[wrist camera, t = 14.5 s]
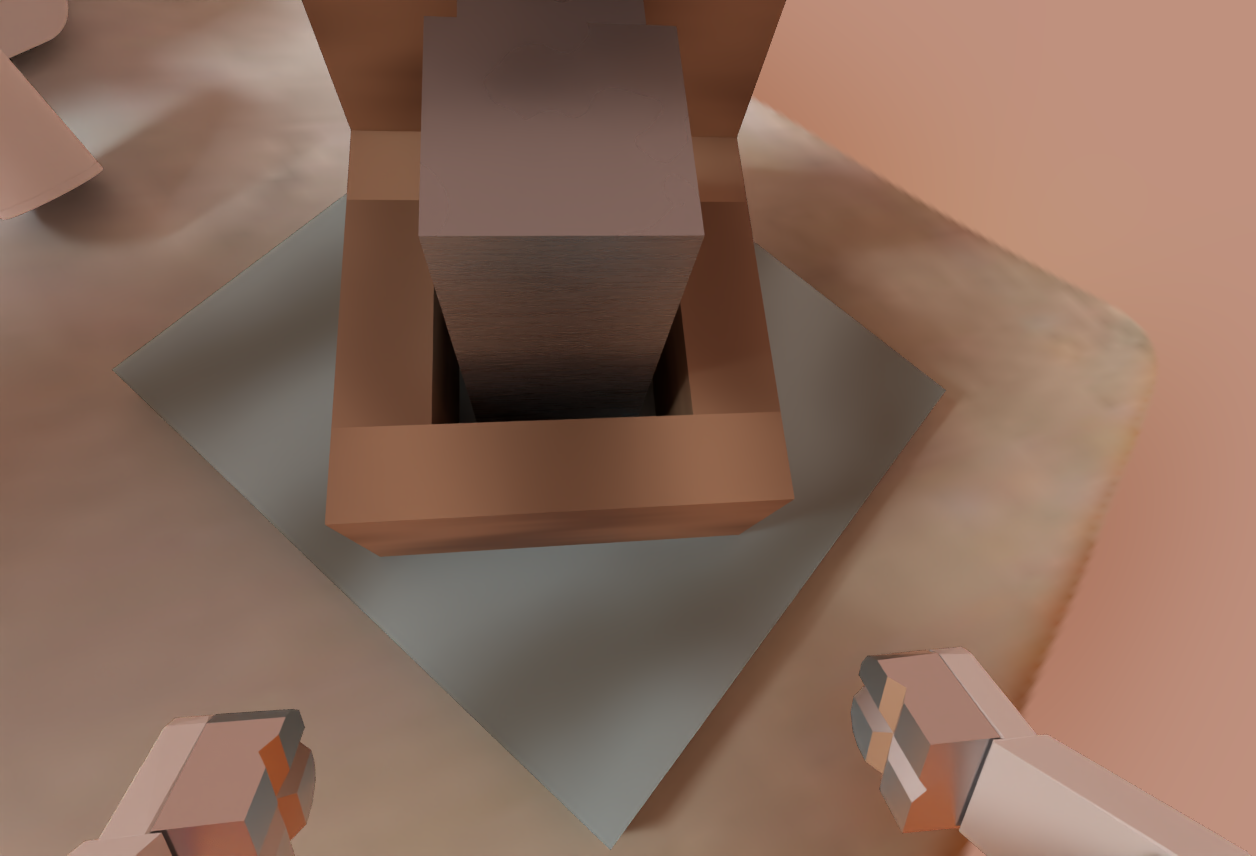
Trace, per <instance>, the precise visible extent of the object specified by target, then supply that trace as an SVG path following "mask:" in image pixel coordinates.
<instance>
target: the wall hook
mask: <svg viewBox="0 0 1256 856" xmlns="http://www.w3.org/2000/svg"><path fill="white" fill-rule="evenodd" d="M67 18H68V1H67V0H0V218H1V219H2V220H6V219H10V218H13V217H16V216H19V215H21V214H24V213H26V212H28V211H30V210H33V209H35V208H37V207H39V206H41V205H43V204H45V203H48V202H50V201H52V200H54V199H56V198H58V197H59V196H61V195H63V194H65V193H67V192H69V191H71V190H73V189H74V188H76V187H78V186H80V185H81V184H83V183H85V182H87V181H88V180H90V179H91V178H93V177H94V176H96V175H97V174H99V173H100V172H101V171H102V170H103V167H102V166H101V165H100V164H99V163H98V161H96V159H95V158H94V157H93V156H92V155H91V153H90V152H89V151H88V150H87V149H86V148H85V146H84V145H83V144H82V143H81V142H80V141H79V139H78V138H77V137H76V136H75V135H74V134H73V133H72V131H71V130H70V129H69V128H68V127H67V126H66V124H65V123H64V122H63V121H62V120H61V119H60V117H59V116H58V115H57V114H56V113H55V112H54V110H53V109H52V108H51V107H50V106H49V105H48V104H47V102H46V101H45V100H44V99H43V98H42V97H41V95H40V94H39V93H38V92H37V91H36V90H35V88H34V87H33V86H32V85H31V84H30V83H29V81H28V80H27V79H26V78H25V77H24V76H23V74H22V73H21V72H20V71H19V70H18V69H17V68H16V66H15V65H14V64H13V63H12V62H11V61H10V59H9V58H11V57H13V56H15V55H18V54H20V53H22V52H25V51H27V50H29V49H31V48H34V47H36V46H38V45H41V44H43V43H45V42H47V41H49V40H51V39H53V38H55V37H56V36H57V35H58V34H59V33H60V32H61V31H62V29H63V28H64V26H65V24H66V21H67Z"/></svg>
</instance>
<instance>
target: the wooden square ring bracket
mask: <svg viewBox="0 0 1256 856" xmlns="http://www.w3.org/2000/svg"><path fill="white" fill-rule="evenodd" d="M302 2H303V5H304V7H305V10H306V13H307V15H308V18H309V21H310V23H311V26H312V28H313V31H314V34H315V36H316V39H317V42H318V44H319V47H320V50H321V52H322V55H323V58H324V60H325V63H326V65H327V68H328V71H329V73H330V76H331V79H332V81H333V84H334V87H335V89H336V92H337V94H338V97H339V100H340V102H341V105H342V108H343V110H344V113H345V116H346V118H347V121H348V123H349V126H350V129H351V139H350V154H349V169H348V184H347V194H345V195H344V196H343V197H341V198H340V199H339V200H337V201H336V202H335V203H333V204H332V205H331V206H329V207H328V208H327V209H325V210H324V211H323V212H321V213H320V214H319V215H317V216H316V217H315V218H313V219H312V220H311V221H309V222H308V223H307V224H305V225H304V226H303V227H301V228H300V229H299V230H297V231H296V232H295V233H293V234H292V235H291V236H289V237H288V238H287V239H285V240H284V241H283V242H281V243H280V244H279V245H277V246H276V247H275V248H273V249H272V250H271V251H269V252H268V253H267V254H265V255H264V256H263V257H261V258H260V259H259V260H257V261H256V262H255V263H253V264H252V265H251V266H249V267H248V268H247V269H245V270H244V271H243V272H241V273H240V274H239V275H237V276H236V277H235V278H233V279H232V280H231V281H229V282H228V283H227V284H225V285H224V286H223V287H221V288H220V289H219V290H217V291H216V292H215V293H213V294H212V295H211V296H209V297H208V298H207V299H205V300H204V301H203V302H201V303H200V304H199V305H197V306H196V307H195V308H193V309H192V310H191V311H189V312H188V313H187V314H185V315H184V316H183V317H181V318H180V319H179V320H177V321H176V322H175V323H173V324H172V325H171V326H169V327H168V328H167V329H165V330H164V331H163V332H161V333H160V334H159V335H157V336H156V337H155V338H153V339H152V340H151V341H149V342H148V343H147V344H145V345H144V346H143V347H141V348H140V349H139V350H137V351H136V352H135V353H133V354H132V355H131V356H129V357H128V358H127V359H125V360H124V361H123V362H121V363H120V364H119V365H117V366H116V367H115V368H113V369H112V370H113V371H114V372H115V373H116V374H117V375H118V376H119V377H120V378H121V379H122V380H123V381H124V382H125V383H126V384H128V385H129V386H130V387H131V388H132V389H133V390H134V391H135V392H136V393H137V394H138V395H139V396H140V397H141V398H142V399H143V400H144V401H145V402H146V403H147V404H148V405H149V406H150V407H151V408H152V409H153V410H155V411H156V412H157V413H158V414H159V415H160V416H161V417H162V418H163V419H164V420H165V421H166V422H167V423H168V424H169V425H170V426H171V427H172V428H173V429H174V430H175V431H176V432H177V433H178V434H179V435H180V436H181V437H183V438H184V439H185V440H186V441H187V442H188V443H189V444H190V445H191V446H192V447H193V448H194V449H195V450H196V451H197V452H198V453H199V454H200V455H201V456H202V457H203V458H204V459H205V460H206V461H207V462H208V463H209V464H211V465H212V466H213V467H214V468H215V469H216V470H217V471H218V472H219V473H220V474H221V475H222V476H223V477H224V478H225V479H226V480H227V481H228V482H229V483H230V484H231V485H232V486H233V487H234V488H235V489H236V490H237V491H239V492H240V493H241V494H242V495H243V496H244V497H245V498H246V499H247V500H248V501H249V502H250V503H251V504H252V505H253V506H254V507H255V508H256V509H257V510H258V511H259V512H260V513H261V514H262V515H263V516H264V517H265V518H267V519H268V520H269V521H270V522H271V523H272V524H273V525H274V526H275V527H276V528H277V529H278V530H279V531H280V532H281V533H282V534H283V535H284V536H285V537H286V538H287V539H288V540H289V541H290V542H291V543H292V544H293V545H295V546H296V547H297V548H298V549H299V550H300V551H301V552H302V553H303V554H304V555H305V556H306V557H307V558H308V559H309V560H310V561H311V562H312V563H313V564H314V565H315V566H316V567H317V568H318V569H319V570H320V571H322V572H323V573H324V574H325V575H326V576H327V577H328V578H329V579H330V580H331V581H332V582H333V583H334V584H335V585H336V586H337V587H338V588H339V589H340V590H341V591H342V592H343V593H344V594H345V595H346V596H347V597H348V598H350V599H351V600H352V601H353V602H354V603H355V604H356V605H357V606H358V607H359V608H360V609H361V610H362V611H363V612H364V613H365V614H366V615H367V616H368V617H369V618H370V619H371V620H372V621H373V622H374V623H375V624H376V625H378V626H379V627H380V628H381V629H382V630H383V631H384V632H385V633H386V634H387V635H388V636H389V637H390V638H391V639H392V640H393V641H394V642H395V643H396V644H397V645H398V646H399V647H400V648H401V649H402V650H403V651H404V652H406V653H407V654H408V655H409V656H410V657H411V658H412V659H413V660H414V661H415V662H416V663H417V664H418V665H419V666H420V667H421V668H422V669H423V670H424V671H425V672H426V673H427V674H428V675H429V676H430V677H431V678H432V679H434V680H435V681H436V682H437V683H438V684H439V685H440V686H441V687H442V688H443V689H444V690H445V691H446V692H447V693H448V694H449V695H450V696H451V697H452V698H453V699H454V700H455V701H456V702H457V703H458V704H459V705H460V706H462V707H463V708H464V709H465V710H466V711H467V712H468V713H469V714H470V715H471V716H472V717H473V718H474V719H475V720H476V721H477V722H478V723H479V724H480V725H481V726H482V727H483V728H484V729H485V730H486V731H487V732H489V733H490V734H491V735H492V736H493V737H494V738H495V739H496V740H497V741H498V742H499V743H500V744H501V745H502V746H503V747H504V748H505V749H506V750H507V751H508V752H509V753H510V754H511V755H512V756H513V757H514V758H515V759H517V760H518V761H519V762H520V763H521V764H522V765H523V766H524V767H525V768H526V769H527V770H528V771H529V772H530V773H531V774H532V775H533V776H534V777H535V778H536V779H537V780H538V781H539V782H540V783H541V784H542V785H543V786H545V787H546V788H547V789H548V790H549V791H550V792H551V793H552V794H553V795H554V796H555V797H556V798H557V799H558V800H559V801H560V802H561V803H562V804H563V805H564V806H565V807H566V808H567V809H568V810H569V811H570V812H571V813H573V814H574V815H575V816H576V817H577V818H578V819H579V820H580V821H581V822H582V823H583V824H584V825H585V826H586V827H587V828H588V829H589V830H590V831H591V832H592V833H593V834H594V835H595V836H596V837H597V838H598V839H599V840H601V841H602V842H603V843H604V844H605V845H606V846H607V847H608V848H609V849H610V850H611V849H612V847H613V846H614V845H615V843H616V842H617V840H618V839H619V838H620V836H621V835H622V834H623V832H624V831H625V829H626V828H627V827H628V825H629V824H630V823H631V821H632V820H633V819H634V817H635V816H636V814H637V813H638V812H639V810H640V809H641V808H642V806H643V805H644V803H645V802H646V801H647V799H648V798H649V797H650V795H651V794H652V792H653V791H654V790H655V788H656V787H657V786H658V784H659V783H660V782H661V780H662V779H663V777H664V776H665V775H666V773H667V772H668V771H669V769H670V768H671V766H672V765H673V764H674V762H675V761H676V760H677V758H678V757H679V755H680V754H681V753H682V751H683V750H684V749H685V747H686V746H687V745H688V743H689V742H690V740H691V739H692V738H693V736H694V735H695V734H696V732H697V731H698V729H699V728H700V727H701V725H702V724H703V723H704V721H705V720H706V718H707V717H708V716H709V714H710V713H711V712H712V710H713V709H714V708H715V706H716V705H717V703H718V702H719V701H720V699H721V698H722V697H723V695H724V694H725V692H726V691H727V690H728V688H729V687H730V686H731V684H732V683H733V681H734V680H735V679H736V677H737V676H738V675H739V673H740V672H741V671H742V669H743V668H744V666H745V665H746V664H747V662H748V661H749V660H750V658H751V657H752V655H753V654H754V653H755V651H756V650H757V649H758V647H759V646H760V644H761V643H762V642H763V640H764V639H765V638H766V636H767V635H768V634H769V632H770V631H771V629H772V628H773V627H774V625H775V624H776V623H777V621H778V620H779V618H780V617H781V616H782V614H783V613H784V612H785V610H786V609H787V607H788V606H789V605H790V603H791V602H792V601H793V599H794V598H795V597H796V595H797V594H798V592H799V591H800V590H801V588H802V587H803V586H804V584H805V583H806V581H807V580H808V579H809V577H810V576H811V575H812V573H813V572H814V570H815V569H816V568H817V566H818V565H819V564H820V562H821V561H822V560H823V558H824V557H825V555H826V554H827V553H828V551H829V550H830V549H831V547H832V546H833V544H834V543H835V542H836V540H837V539H838V538H839V536H840V535H841V533H842V532H843V531H844V529H845V528H846V527H847V525H848V524H849V523H850V521H851V520H852V518H853V517H854V516H855V514H856V513H857V512H858V510H859V509H860V507H861V506H862V505H863V503H864V502H865V501H866V499H867V498H868V496H869V495H870V494H871V492H872V491H873V490H874V488H875V487H876V486H877V484H878V483H879V481H880V480H881V479H882V477H883V476H884V475H885V473H886V472H887V470H888V469H889V468H890V466H891V465H892V464H893V462H894V461H895V459H896V458H897V457H898V455H899V454H900V453H901V451H902V450H903V449H904V447H905V446H906V444H907V443H908V442H909V440H910V439H911V438H912V436H913V435H914V433H915V432H916V431H917V429H918V428H919V427H920V425H921V424H922V422H923V421H924V420H925V418H926V417H927V416H928V414H929V413H930V412H931V410H932V409H933V407H934V406H935V405H936V403H937V402H938V401H939V399H940V398H941V396H942V395H943V394H944V392H945V391H946V390H945V389H944V388H942V387H941V386H940V385H938V384H937V383H936V382H935V381H933V380H932V379H931V378H929V377H928V376H927V375H926V374H924V373H923V372H922V371H920V370H919V369H918V368H916V367H915V366H914V365H913V364H911V363H910V362H909V361H907V360H906V359H905V358H904V357H902V356H901V355H900V354H898V353H897V352H896V351H895V350H893V349H892V348H891V347H889V346H888V345H887V344H886V343H884V342H883V341H882V340H880V339H879V338H878V337H876V336H875V335H874V334H873V333H871V332H870V331H869V330H867V329H866V328H865V327H864V326H862V325H861V324H860V323H858V322H857V321H856V320H855V319H853V318H852V317H851V316H849V315H848V314H847V313H845V312H844V311H843V310H842V309H840V308H839V307H838V306H836V305H835V304H834V303H833V302H831V301H830V300H829V299H827V298H826V297H825V296H824V295H822V294H821V293H820V292H818V291H817V290H816V289H815V288H813V287H812V286H811V285H809V284H808V283H807V282H805V281H804V280H803V279H802V278H800V277H799V276H798V275H796V274H795V273H794V272H793V271H791V270H790V269H789V268H787V267H786V266H785V265H784V264H782V263H781V262H780V261H778V260H777V259H776V258H774V257H773V256H772V255H771V254H769V253H768V252H767V251H765V250H764V249H763V248H762V247H760V246H759V245H758V244H756V243H755V242H754V241H753V236H752V230H751V224H750V217H749V211H748V205H747V199H746V192H745V186H744V180H743V174H742V167H741V161H740V155H739V149H738V142H737V135H738V133H739V130H740V127H741V124H742V121H743V119H744V116H745V113H746V110H747V108H748V105H749V102H750V99H751V96H752V94H753V91H754V88H755V85H756V82H757V80H758V77H759V74H760V71H761V69H762V66H763V63H764V60H765V57H766V55H767V52H768V49H769V46H770V43H771V41H772V38H773V35H774V33H775V29H776V27H777V24H778V21H779V19H780V16H781V13H782V10H783V8H784V5H785V2H786V0H643V2H644V10H645V19H646V25H662V26H676V27H677V34H678V41H679V49H680V56H681V64H682V71H683V79H684V86H685V93H686V101H687V108H688V116H689V123H690V131H691V138H692V145H693V153H694V160H695V168H696V175H697V183H698V190H699V197H700V205H701V212H702V220H703V227H704V235H705V236H704V239H703V241H702V244H701V247H700V249H699V252H698V255H697V258H696V260H695V263H694V266H693V268H692V271H691V274H690V277H689V279H688V282H687V285H686V288H685V290H684V293H683V296H682V298H681V301H680V304H679V307H678V309H677V312H676V315H675V317H674V320H673V323H672V326H671V328H670V331H669V334H668V336H667V339H666V342H665V345H664V347H663V350H662V353H661V356H660V358H659V361H658V364H657V366H656V369H655V372H654V375H653V377H652V380H651V383H650V385H649V388H648V391H647V394H646V396H645V399H644V402H643V404H642V407H641V410H640V413H639V415H638V417H619V418H592V419H565V420H538V421H510V422H483V423H477V421H476V418H475V414H474V411H473V408H472V405H471V402H470V399H469V395H468V392H467V389H466V386H465V383H464V379H463V376H462V373H461V370H460V367H459V364H458V360H457V357H456V354H455V351H454V348H453V344H452V341H451V338H450V335H449V332H448V329H447V325H446V322H445V319H444V316H443V313H442V309H441V306H440V303H439V300H438V297H437V294H436V290H435V287H434V284H433V281H432V278H431V274H430V271H429V268H428V265H427V262H426V259H425V255H424V252H423V249H422V246H421V243H420V239H419V236H418V232H419V191H420V150H421V109H422V68H423V27H424V16H438V17H457V0H302Z"/></svg>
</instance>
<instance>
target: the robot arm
mask: <svg viewBox="0 0 1256 856" xmlns="http://www.w3.org/2000/svg"><path fill="white" fill-rule="evenodd" d="M859 676H860V678H861V679H862V681H863V683H864V685H865V686H864V687H863V688H862V689H861V690H860V691H859V692H858V693H856V694H855V695H854V698H853V703H852V709H851V719H852V728H853V733H854V736H855V739H856V742H857V746H858V748H859V750H860V752H861V754H862V756H863V758H864V760H865V762H867V763H868V764H869V765H871V766H872V767H873V768H875V769H876V770H877V771H879V772H880V773H881V774H882V778H881V784H880V791H881V793H882V795H883V797H884V799H885V801H886V803H887V805H888V807H889V809H890V811H891V813H892V815H893V817H894V818H895V820H896V822H897V824H898V826H899V828H900V830H901V832H902V833H910V832H921V831H931V830H942V829H952V828H960V829H959V832H960V833H961V834H962V835H964V836H965V837H966V838H967V839H968V840H969V841H970V842H972V843H973V844H974V845H975V846H976V847H977V848H978V849H980V850H981V851H982V852H983V853H984V854H985V855H986V856H1251V855H1250V854H1249V853H1248V852H1247V851H1246V850H1244V849H1242V848H1240V847H1239V846H1237V845H1235V844H1234V843H1232V842H1230V841H1229V840H1227V839H1225V838H1224V837H1222V836H1220V835H1218V834H1217V833H1215V832H1213V831H1211V830H1210V829H1208V828H1206V827H1205V826H1203V825H1201V824H1200V823H1198V822H1196V821H1195V820H1193V819H1191V818H1189V817H1188V816H1186V815H1184V814H1182V813H1181V812H1179V811H1177V810H1176V809H1174V808H1172V807H1171V806H1169V805H1167V804H1166V803H1164V802H1162V801H1160V800H1158V799H1157V798H1155V797H1154V796H1152V795H1150V794H1148V793H1147V792H1145V791H1143V790H1142V789H1140V788H1138V787H1137V786H1135V785H1133V784H1131V783H1130V782H1128V781H1126V780H1125V779H1123V778H1121V777H1119V776H1118V775H1116V774H1114V773H1113V772H1111V771H1109V770H1107V769H1106V768H1104V767H1102V766H1101V765H1099V764H1097V763H1096V762H1094V761H1092V760H1090V759H1089V758H1087V757H1085V756H1084V755H1082V754H1080V753H1079V752H1077V751H1075V750H1073V749H1072V748H1070V747H1068V746H1067V745H1065V744H1063V743H1061V742H1060V741H1058V740H1056V739H1055V738H1053V737H1051V736H1050V735H1048V734H1043V735H1037V734H1036V732H1035V731H1034V730H1033V729H1032V727H1031V726H1030V725H1029V724H1028V723H1027V721H1026V720H1025V719H1024V717H1023V716H1022V715H1021V714H1020V713H1019V711H1018V710H1017V709H1016V708H1015V706H1014V705H1013V704H1012V703H1011V701H1010V700H1009V699H1008V698H1007V697H1006V695H1005V694H1004V693H1003V692H1002V690H1001V689H1000V688H999V687H998V685H997V684H996V683H995V682H994V680H993V679H992V678H991V677H990V676H989V674H988V673H987V672H986V671H985V669H984V668H983V667H982V666H981V664H980V663H979V662H978V661H977V659H976V658H975V657H974V656H973V655H972V653H971V652H970V651H968V650H966V649H965V648H963V647H953V648H943V649H932V650H929V651H928V650H919V651H910V652H900V653H891V654H881V655H871V656H867V657H866V658H865V659H864V661H863V662H862V664H861V668H860V672H859ZM304 728H305V727H304V724H303V721H302V718H301V715H300V712H299V710H294V709H288V710H273V711H257V712H242V713H227V714H216V715H205V716H191V717H177V718H174V719H173V720H172V721H171V722H170V723H169V724H168V725H166V726H165V727H164V728H163V730H162V731H161V733H160V735H159V736H158V738H157V740H156V742H155V743H154V745H153V747H152V748H151V750H150V752H149V753H148V755H147V757H146V759H145V760H144V762H143V764H142V765H141V767H140V769H139V771H138V772H137V774H136V776H135V777H134V779H133V781H132V782H131V784H130V786H129V788H128V789H127V791H126V793H125V794H124V796H123V798H122V800H121V801H120V803H119V805H118V806H117V808H116V810H115V811H114V813H113V815H112V817H111V818H110V820H109V822H108V823H107V825H106V827H105V829H104V830H103V832H102V834H101V835H100V837H99V839H95V840H88V841H84V842H83V843H82V844H80V845H79V846H78V847H77V848H75V849H74V850H73V851H72V852H70V853H69V854H68V855H67V856H295V854H294V851H293V848H292V845H291V842H290V841H291V840H292V839H293V838H294V837H295V836H296V834H297V833H298V832H299V831H300V830H301V829H302V828H303V827H304V826H305V825H306V824H307V820H308V817H309V813H310V810H311V806H312V803H313V795H314V787H315V764H314V759H313V755H312V751H311V749H309V748H308V747H306V746H305V745H303V744H302V743H300V739H301V736H302V734H303V731H304Z"/></svg>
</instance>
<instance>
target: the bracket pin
mask: <svg viewBox="0 0 1256 856" xmlns="http://www.w3.org/2000/svg"><path fill="white" fill-rule="evenodd" d="M418 236H419V239H420V243H421V246H422V249H423V252H424V255H425V259H426V262H427V265H428V268H429V271H430V274H431V278H432V281H433V284H434V287H435V290H436V294H437V297H438V300H439V303H440V306H441V309H442V313H443V316H444V319H445V322H446V325H447V329H448V332H449V335H450V338H451V341H452V344H453V348H454V351H455V354H456V357H457V360H458V364H459V367H460V370H461V373H462V376H463V379H464V383H465V386H466V389H467V392H468V395H469V399H470V402H471V405H472V408H473V411H474V414H475V418H476V421H477V423H483V422H510V421H538V420H565V419H592V418H619V417H638V415H639V413H640V410H641V407H642V404H643V402H644V399H645V396H646V394H647V391H648V388H649V385H650V383H651V380H652V377H653V375H654V372H655V369H656V366H657V364H658V361H659V358H660V356H661V353H662V350H663V347H664V345H665V342H666V339H667V336H668V334H669V331H670V328H671V326H672V323H673V320H674V317H675V315H676V312H677V309H678V307H679V304H680V301H681V298H682V296H683V293H684V290H685V288H686V285H687V282H688V279H689V277H690V274H691V271H692V268H693V266H694V263H695V260H696V258H697V255H698V252H699V249H700V247H701V244H702V241H703V239H704V236H705V235H704V227H703V220H702V212H701V205H700V197H699V190H698V183H697V175H696V168H695V160H694V153H693V145H692V138H691V131H690V123H689V116H688V108H687V101H686V93H685V86H684V79H683V71H682V64H681V56H680V49H679V41H678V34H677V27H676V26H662V25H646V19H645V10H644V2H643V0H457V17H438V16H424V27H423V68H422V109H421V150H420V191H419V232H418Z"/></svg>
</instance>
